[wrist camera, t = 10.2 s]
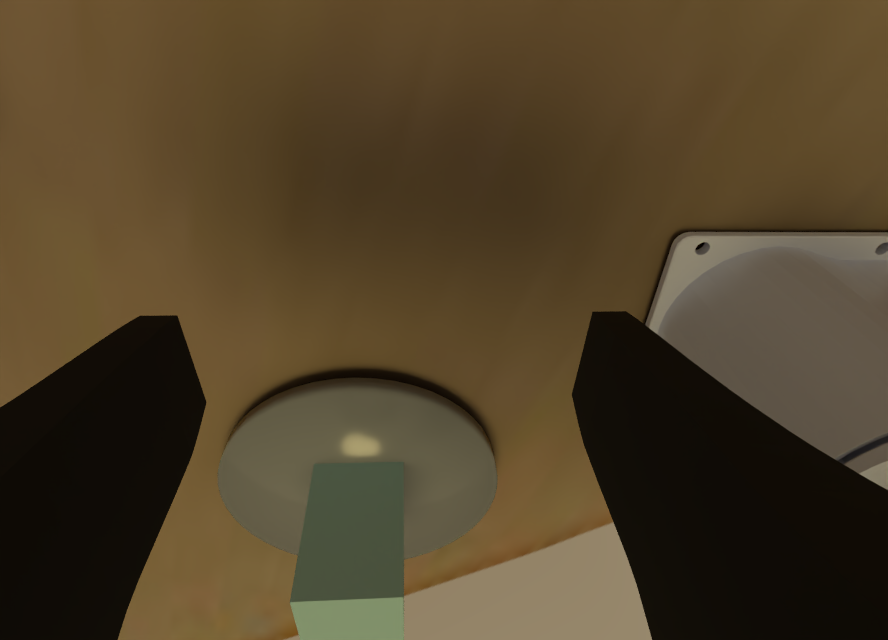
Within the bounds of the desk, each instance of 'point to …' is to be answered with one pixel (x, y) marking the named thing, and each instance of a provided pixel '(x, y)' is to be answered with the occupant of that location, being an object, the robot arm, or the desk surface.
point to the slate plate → (358, 458)
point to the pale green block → (352, 554)
